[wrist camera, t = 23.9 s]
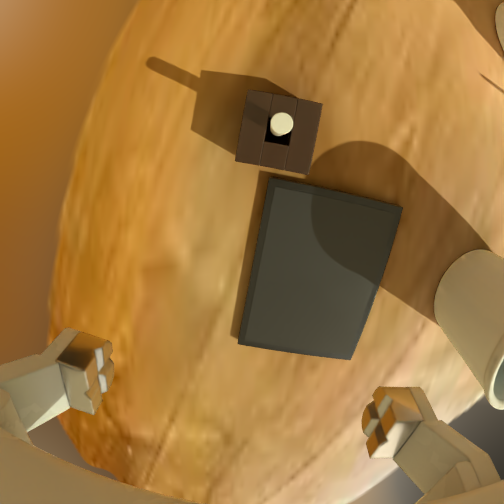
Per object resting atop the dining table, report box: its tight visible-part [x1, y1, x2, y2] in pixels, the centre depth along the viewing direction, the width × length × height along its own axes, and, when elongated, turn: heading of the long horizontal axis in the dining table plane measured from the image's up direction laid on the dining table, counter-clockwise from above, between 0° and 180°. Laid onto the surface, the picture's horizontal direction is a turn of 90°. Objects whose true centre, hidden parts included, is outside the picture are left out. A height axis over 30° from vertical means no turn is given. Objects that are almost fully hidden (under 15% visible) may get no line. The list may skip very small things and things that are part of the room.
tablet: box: [238, 177, 403, 360], centre depth 39 cm, size 16×22×1 cm
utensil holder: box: [434, 249, 504, 410], centre depth 30 cm, size 15×15×18 cm
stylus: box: [270, 112, 293, 136], centre depth 27 cm, size 2×2×13 cm
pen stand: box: [235, 90, 322, 175], centre depth 31 cm, size 7×7×5 cm
